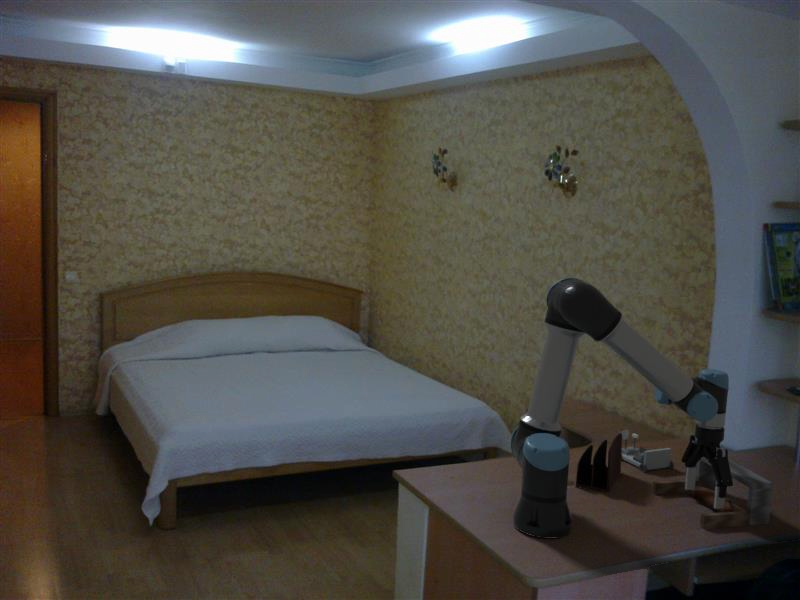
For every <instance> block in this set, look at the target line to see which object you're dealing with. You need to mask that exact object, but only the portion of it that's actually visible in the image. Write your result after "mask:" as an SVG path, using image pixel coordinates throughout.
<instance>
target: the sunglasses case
mask: <svg viewBox="0 0 800 600" xmlns="http://www.w3.org/2000/svg"><path fill="white" fill-rule="evenodd" d="M688 495H689V496H690V497H691V498H694V499H696V500H698V501H699V502H701V503H703V504H704V505H706V506H707V507H709V508H711V509H712V510H713V511H715V513H721V512H734V511H744V510H743V509H742V508H741V507H739V506H738V505H736V504H735V503H733V502H732V500H731V499H729V498H728V497H727V496H726V497H725V504H724V508H720V509H715V508H714V499H715V491H713V490H710V489H707V488H704V487H700V486H695V490H690V491H689V493H688Z"/></svg>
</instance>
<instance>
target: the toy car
mask: <svg viewBox="0 0 800 600" xmlns="http://www.w3.org/2000/svg"><path fill="white" fill-rule="evenodd" d="M620 430H621V431H619V432H618V433H617V434H616V436H617V435H618V434H619V433H621V434H622V440H624V442H625V443H624V447H622V451H621V460H624V461H626V462H627V463H630V464H632V465H634V466H635V467H638V469H639V471H640V472H641V473H644V474H646V473H647V472H648V471H650V470H657V469H663V468H664V469H665V468H667V467H668V468H667V469H669V468H671V469H670V470H674V468H675V463H674V462H673V460H671V456H672V448H670V447H665V448H657V449H651V450H648V449H647V448H646V447H643V446H640V447H639V448H637V447H636V439H639V434H636V433H631V437H632V438H633V439H634V440H633V446H628V447H627V443H628V439H629V435H630V432H629V429H623V428H620Z"/></svg>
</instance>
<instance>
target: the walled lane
mask: <svg viewBox="0 0 800 600" xmlns="http://www.w3.org/2000/svg"><path fill="white" fill-rule="evenodd" d="M715 459H717V457H716V458H715ZM728 461H729V466H730V471H731V476H732V480H735V481H737V482H739V483H741V484H742V485H744V486H746V487H747V488H748V496H747V497H748V498H747V506H746V507H747V508H746V510H743V511H734V512H721V513H718V512H712V513H711V512H710V513H700V518H699V519H700V521H699V522H700V523H699V527H700V528H701V529H702V530H706V529H719V528H727V527H728V528H730V527H742V526H743V527H745V526H756V525H768V524H769V523H770V515H771V505H772V504H771V503H772V495H773V486H774V485H773V484H774V483H773V482H772V481H769V480H768V479H767V478H764V477H763V476H761V475H759V474H757V473H755V472H753V471H751V470H750V469H748V468H745V467H744V466H742V465H741V464H738V463H736V462H735V461H733V460H730V459H729V458H728ZM685 482H686V479H676V480H675V479H674V480H658V481H656V480H655V481H653V482H652V494H653V495H654V496H656V495H657V494H661V495H669V494H668V493H676V494H689V491H690V490H686V489H685ZM716 485H717V480H716V477H715V474H714V471H713V469H712V466H711V463H709V462H708V459H706V458H705V457H702V458H701V459H700V460H699V461H698V462H697V466H696V480H695V486H700V487H704V488H707V489H710V490H713V491H715V487H716ZM657 496H658V495H657Z"/></svg>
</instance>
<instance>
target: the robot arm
mask: <svg viewBox="0 0 800 600" xmlns="http://www.w3.org/2000/svg"><path fill="white" fill-rule="evenodd" d="M545 299H546V300H545V301H546V306H547V309H546V310H547V311H546V313H545V317H544V325H545V326H546V329H547V334H546V337H545V341H544V345H543V348H542V349H543V350H542V354H541V355H540V356H541V357H540V361H539V363H538V364H539V365H538V369H537V373H536V377H535V381H534V386H533V389H532V393H531V397H530V401H529V404H528V409H527V411H526V412H525V413H524V414H523V415H521V416H520V418H519V420H518V421H519V422H518V424H517V425H518V426H516V427H515V429H514V430H513V431H512V433H511V437H510V449H511V453H512V455H513V457H514V459H515V461H516V462H517V463H518V465H519V467H520V469H521V471H522V474H521V475H522V476H521V478H522V479H521V495H520V498H519V501H518V503H517V506H516V508H515V511H514V513H513V520H512V523H513V522H514V525H515V526H516V527H517V528H518V529H519V530H521V531H523V532H525V533H528V534H531V535H534V536H540V537H559V538H562V537H561V536H563V537H566V536H568V535H570V534H571V532H572V526H573V520H572V516H571V512H570V507H569V504H568V501H567V497H568V482H569V465H570V458H571V454H570V447H569V446H570V445H569V444H568V442H567V441H566V440H565V439H564V438H562V437H561V434H562V433H561V432H562V426H561V424H560V422H559V418H560V414H561V410H562V407H563V403H564V399H565V395H566V391H567V387H568V383H569V380H570V375H571V372H572V368H573V363H574V360H575V357H576V352H577V349H578V345H579V340H580V338H581V337H582V336H584V335H588V337H590V338H592V339H593V340H594V341H595V342H597V343H599V342H602V343H603V344H605V345H606V346H607V347H608V348H609V349H610V350H612V352H614V353H615V354H616V355H617V356H619V357H620V358H621V359H622V360H623V361H625V363H627V364H628V365H629V366H630V367H632V368H633V369H634V370H635V371H636V372H637V373H638V374H640V375H641V376H642V377H643V378H645V379H646V380H647V381H648V382H649V383H651V385H653V387H654V388H653V389H654V390H653V391H654V397H655V400H656V402H657V403H658V404H660V405H667V406H669V405H670V406H671V405H674V406H675V407H676V408H678V409H679V410H681V411H682V412H683V413H685V414H686V415H688V416H689V417H690V418H691V419H693V420H695V423H696V424H695V427H694V429H695V430H694V434H691V435H690V436H689V442H688V445H687V447H686V448H685V451H684V453H683V455H682V458H681V463H684V465H685V480H686V482H685V489H686V490H695V480H696V467H693V466H696V464H697V462H698V461H699V460H700V459H701V458H702V457H705V458H706V459H708V462H709V463H711V466H712V469H713V471H714V474H715V477H716V487H715V499H714V508H715V509H720V508H724V504H725V497H727V488H728V487H733V486H734V481H733V478H732V476H731V471H730V466H729V461H728V459H729V457H728V456H729V451H728V449H727V448H721V443H722V442H723V441H724V439H725V438H724V437H725V430H726V429H725V428H724V427H725V425H726V413H727V404H728V396H729V395H728V393H729V389H730V388H729V385H730V384H729V382H730V381H729V374H728V373H727V372H725V371H722V370H720V369H711V368H706V369H705V368H704V369H701V370H700V372H699V375H698V376H695V377H690V376H688V375H687V374H686V373H685V372H684V371H683V370H682V369H681V368H680V367H678V366H677V365H676V364H675V363H673V362H672V361H671V360H670V359H669V358H668V357H667V356H665V355H664V354H663V353H662V352H661V351H659V349H657V348H656V346H654V345H653V344H652V343H650V342H649V341H648V340H647V339H646V338H644V337H643V336H642V335H641V334H640V333H639V332H638V331H636V329H634V328H633V327H632V326H631V325H630V324H629V323H628V322H627V321H625V320H624V319H623V313H622V312H621V311H620V310H618V309H617V308H616V307H615V306H614V305H613V304H612V303H611V302H610V300H608V299H607V297H606V296H605V295H604V294H603V293H602V292H601V291H600V290H599V289H598V288H597V287H595V286H594V285H592V284H591V283H588V282H585V281H584V280H582V279H579V278H575V277H565V278H560V279H558V280H557V281H555V282H554V283H552V285H550V287H549V289H548V290H547V292H546V298H545ZM687 457H688V458H687ZM716 457H717V459H715V458H716ZM514 525H513V526H514ZM519 530H518V531H519ZM567 534H568V535H567ZM565 535H566V536H565ZM534 536H533V537H534Z"/></svg>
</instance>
